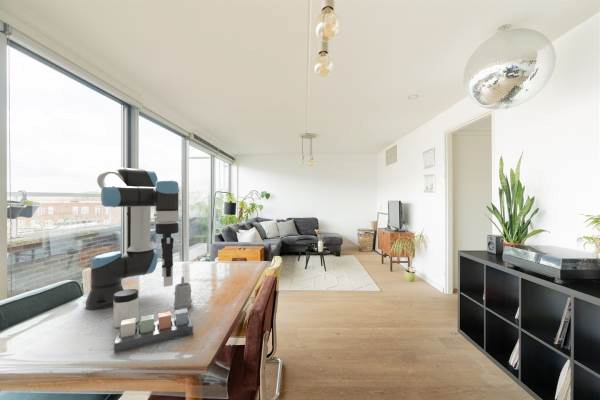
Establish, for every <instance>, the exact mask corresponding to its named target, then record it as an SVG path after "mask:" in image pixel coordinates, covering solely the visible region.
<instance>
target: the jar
mask: <svg viewBox="0 0 600 400" xmlns="http://www.w3.org/2000/svg"><path fill="white" fill-rule="evenodd" d="M112 307H113V310H112V311H113V312H112V315H113V316H112V322H113V323H112V324H113V327H114V328H115V329H117V328H118V329H119V328H121V322H122V320H126V319H132V318H136V323H139V322H140V309H139V308H140V297H139V290H138V289H135V288H131V289H128V288H127V289H124V290H122V291H119V292H116V293H115V294H114V300H113V306H112Z"/></svg>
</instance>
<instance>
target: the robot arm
mask: <svg viewBox="0 0 600 400" xmlns="http://www.w3.org/2000/svg"><path fill="white" fill-rule="evenodd" d="M96 180H97V181H96V183H97V185H98V187H99V188H100V189H101V192H100V193H101V194H100V200H101V201H100V202H101V205H102V206H103V207H110V208H123V207H124V208H127V207H128V208H129V207H130V245H129V247H128V248H127V249H126V253H122V251H110V252H106V253H102V254H98V255H95V256H94V257H92V259H91V261H90V290H89V293H88V296H87V297H86V301H85V309H87V310H100V309H107V308H112V307H113V300H114V294H115V293H116V292H119V291H122V290H125V289H124V287H123V285H122V281H123V280H122V279H125V278H134V277H138V276H145V275H148V274H149V275H150V274H152V273H153V272H155V270H156V268H157V265H158V252H157V250H155V249H154V247H153V245H151V221H152V220H151V216H152V215H151V211H152V210H151V209H152V208H151V207H155V213H153V217H155V222H156V224H155V234H156V235H161V236H162V237H161V238H160V245H161V251H162V252H161V256H162V257H161V258H162V260H161V262H162V264H161V270H162V272H161V273H162V274H161V277H162V278H163V287H172V286H173V283H174V281H173V279H174V278H173V277H174V275H173V273H174V272H173V269H174V267H173V266H174V257H173V254H174V253H173V249H174V240H175V239H174V237H172V235H173V234H178V233H179V232H180V231H179V227H180V226H179V224H180V223H178V222H179V219H180V218H179V217H180V213H179V212H180V211H179V207H180V205H179V200H180V199H179V198H180V197H179V194H180V193H179V192H180V188H179V183H178V181H176V180H168V179H167V180H166V179H165V180H164V179H163V180H160V179H159V180H158V176H157V173H156V172H155V171H154V170H152V169H146V168H143V169H142V168H130V167H129V168H128V167H112V168H108V169H106V170H103V171H102V172H100V173H99V175H98V176H97V179H96Z"/></svg>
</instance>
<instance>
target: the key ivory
mask: <svg viewBox="0 0 600 400" xmlns="http://www.w3.org/2000/svg"><path fill="white" fill-rule="evenodd" d="M136 325H137V322H136V318H132V319H126V320H122V322H121V327H120V328H121V338H122V337H127V336H132V335H135V333H136Z"/></svg>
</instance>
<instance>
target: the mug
mask: <svg viewBox="0 0 600 400" xmlns="http://www.w3.org/2000/svg"><path fill="white" fill-rule="evenodd" d="M180 277H181V279H180V281H181V282H180V283H177V284H176V285H175V287H174V289H175V290H174V292H173V294H174V302H173V306H174V309H175V310H180V309H185V308H187V309H188V308H191V307H192V303H193V300H192V289H191V287H192V286H191V283H190V282H185V276H180Z"/></svg>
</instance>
